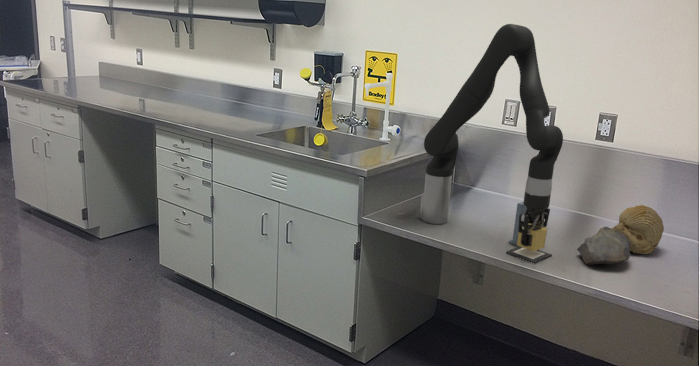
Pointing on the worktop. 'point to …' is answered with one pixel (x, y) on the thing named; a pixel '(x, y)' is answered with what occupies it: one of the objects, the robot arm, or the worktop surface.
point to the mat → (529, 254)
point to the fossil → (641, 228)
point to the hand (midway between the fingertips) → (530, 242)
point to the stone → (605, 247)
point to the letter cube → (534, 238)
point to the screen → (520, 210)
